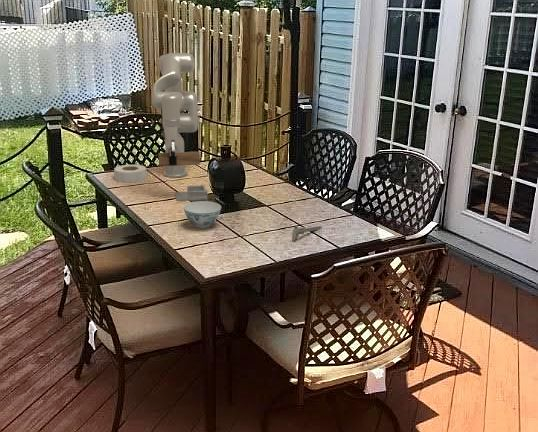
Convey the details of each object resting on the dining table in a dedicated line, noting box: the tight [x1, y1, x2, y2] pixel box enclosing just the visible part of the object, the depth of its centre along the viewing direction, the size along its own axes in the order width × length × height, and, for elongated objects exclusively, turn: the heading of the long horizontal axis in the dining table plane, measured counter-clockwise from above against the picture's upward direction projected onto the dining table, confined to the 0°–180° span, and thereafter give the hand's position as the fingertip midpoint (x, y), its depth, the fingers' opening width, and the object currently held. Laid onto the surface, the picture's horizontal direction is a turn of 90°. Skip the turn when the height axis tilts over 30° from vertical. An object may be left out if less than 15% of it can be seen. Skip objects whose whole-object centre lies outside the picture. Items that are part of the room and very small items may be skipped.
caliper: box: [291, 225, 323, 242], centre depth 249 cm, size 20×1×6 cm, turn 143°
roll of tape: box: [113, 164, 148, 184], centre depth 318 cm, size 16×16×6 cm
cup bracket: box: [174, 185, 209, 202], centre depth 292 cm, size 11×14×4 cm
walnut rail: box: [158, 151, 201, 167], centre depth 285 cm, size 4×18×5 cm, turn 104°
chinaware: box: [183, 200, 222, 229], centre depth 256 cm, size 15×15×8 cm
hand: (172, 163), depth 285 cm, fingers closed on walnut rail, 4 cm apart
